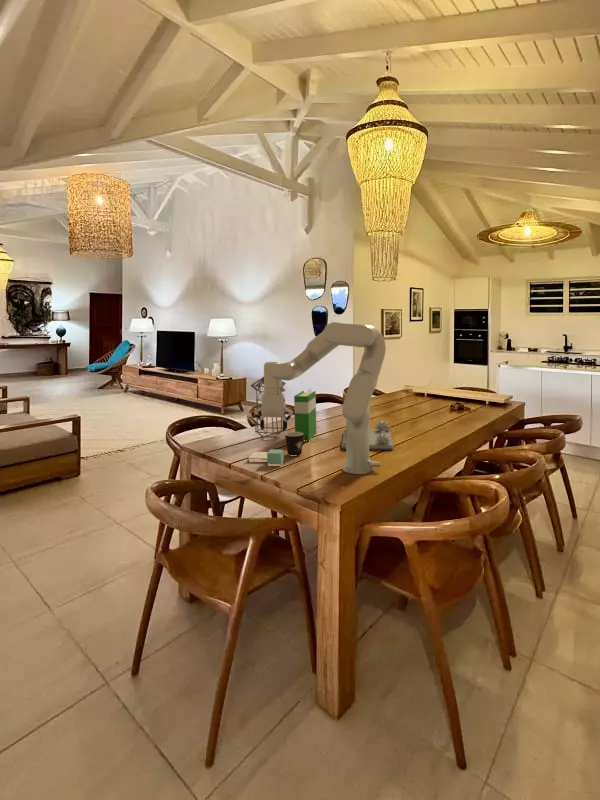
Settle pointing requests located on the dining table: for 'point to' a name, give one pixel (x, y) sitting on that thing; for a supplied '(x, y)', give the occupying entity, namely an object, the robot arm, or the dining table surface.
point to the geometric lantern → (266, 417)
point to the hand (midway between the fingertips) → (273, 429)
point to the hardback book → (305, 414)
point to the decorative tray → (377, 437)
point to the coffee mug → (294, 442)
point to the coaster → (259, 455)
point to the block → (275, 456)
